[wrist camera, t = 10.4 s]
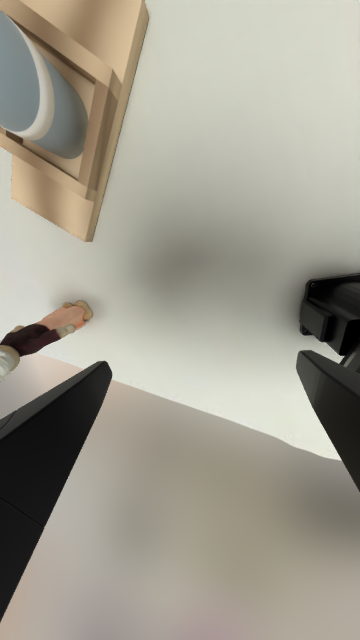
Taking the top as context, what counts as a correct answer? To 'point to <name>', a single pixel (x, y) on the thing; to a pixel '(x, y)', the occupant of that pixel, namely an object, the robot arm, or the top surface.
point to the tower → (38, 96)
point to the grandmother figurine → (41, 334)
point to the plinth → (95, 92)
